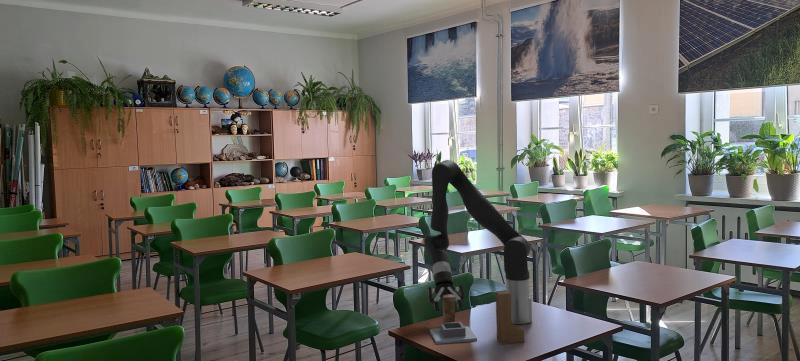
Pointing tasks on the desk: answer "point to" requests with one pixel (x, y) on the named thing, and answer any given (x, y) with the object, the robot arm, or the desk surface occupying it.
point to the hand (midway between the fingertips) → (448, 310)
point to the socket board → (452, 333)
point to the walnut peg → (448, 308)
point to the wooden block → (506, 320)
